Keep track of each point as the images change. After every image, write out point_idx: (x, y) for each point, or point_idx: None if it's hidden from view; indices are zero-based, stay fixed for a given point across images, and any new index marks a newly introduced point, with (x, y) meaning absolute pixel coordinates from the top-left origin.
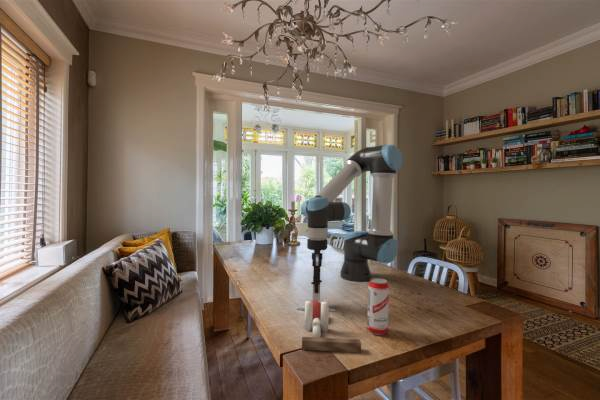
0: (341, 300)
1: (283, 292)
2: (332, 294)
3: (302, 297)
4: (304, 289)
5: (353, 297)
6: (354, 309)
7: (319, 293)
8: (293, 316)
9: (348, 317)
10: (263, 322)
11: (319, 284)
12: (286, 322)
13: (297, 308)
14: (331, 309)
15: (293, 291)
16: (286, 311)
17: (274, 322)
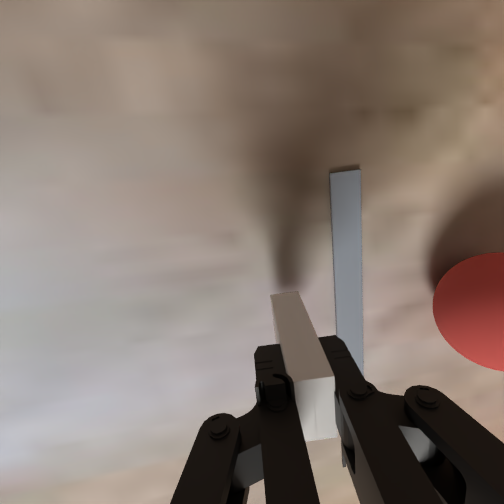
0: (150, 133)
1: (137, 487)
2: (49, 212)
3: (179, 388)
4: (37, 402)
5: (42, 20)
6: (304, 18)
7: (309, 323)
8: (438, 381)
9: (445, 71)
10: None
11: (360, 382)
12: (501, 395)
13: None
14: (341, 199)
15: (101, 448)
16: None
17: (498, 436)
